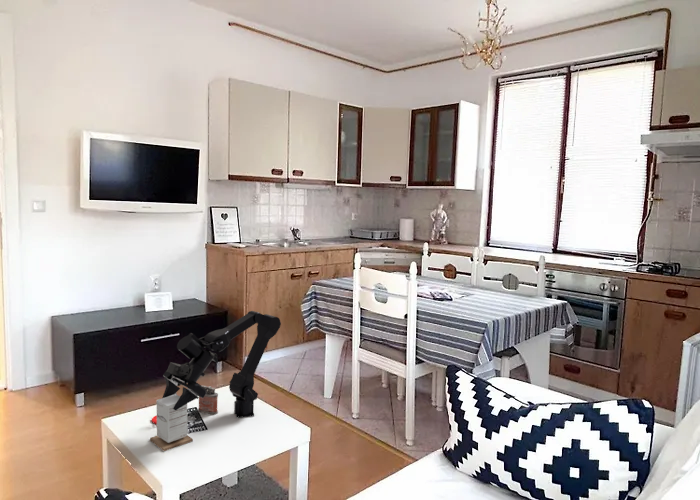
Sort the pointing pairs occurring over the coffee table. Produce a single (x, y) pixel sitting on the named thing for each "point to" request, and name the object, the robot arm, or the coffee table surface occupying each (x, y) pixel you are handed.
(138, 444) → the coffee table surface
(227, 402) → the coffee table surface
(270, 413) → the coffee table surface
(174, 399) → the supplement box
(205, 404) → the red-brown boxy piece
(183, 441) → the walnut plate
